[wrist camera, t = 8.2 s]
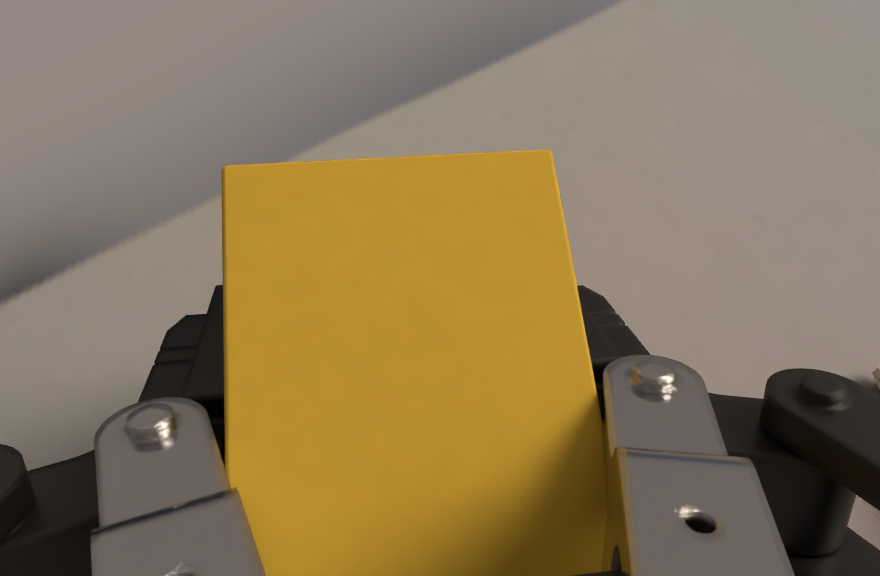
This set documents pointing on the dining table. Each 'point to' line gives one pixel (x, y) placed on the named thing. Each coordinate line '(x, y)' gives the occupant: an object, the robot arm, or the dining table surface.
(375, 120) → the dining table surface
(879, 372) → the sunglasses
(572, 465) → the sponge
